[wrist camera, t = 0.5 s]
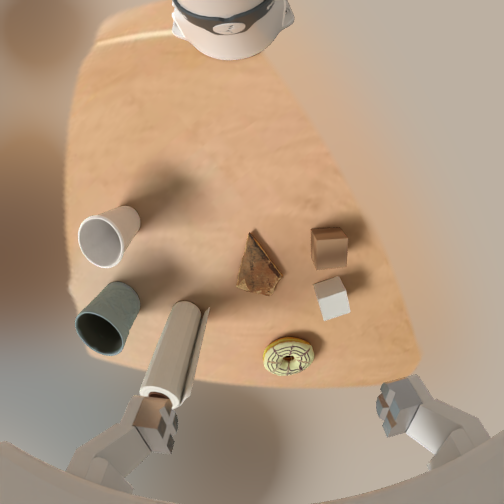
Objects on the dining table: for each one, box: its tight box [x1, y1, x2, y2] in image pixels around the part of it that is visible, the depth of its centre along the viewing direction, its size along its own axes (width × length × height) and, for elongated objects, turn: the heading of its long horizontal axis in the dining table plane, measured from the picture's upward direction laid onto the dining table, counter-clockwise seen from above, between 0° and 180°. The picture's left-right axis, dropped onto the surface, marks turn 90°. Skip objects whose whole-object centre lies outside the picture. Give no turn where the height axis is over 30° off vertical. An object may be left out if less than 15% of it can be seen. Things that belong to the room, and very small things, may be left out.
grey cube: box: [313, 276, 350, 321], centre depth 48 cm, size 5×5×5 cm
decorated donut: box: [263, 337, 314, 376], centre depth 55 cm, size 10×11×4 cm
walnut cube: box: [311, 227, 348, 270], centre depth 44 cm, size 5×5×5 cm
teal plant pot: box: [75, 282, 140, 356], centre depth 46 cm, size 10×10×12 cm
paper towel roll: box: [139, 301, 210, 409], centre depth 43 cm, size 7×6×21 cm
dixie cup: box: [78, 206, 140, 268], centre depth 40 cm, size 8×8×10 cm
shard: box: [237, 232, 283, 296], centre depth 48 cm, size 11×8×2 cm
